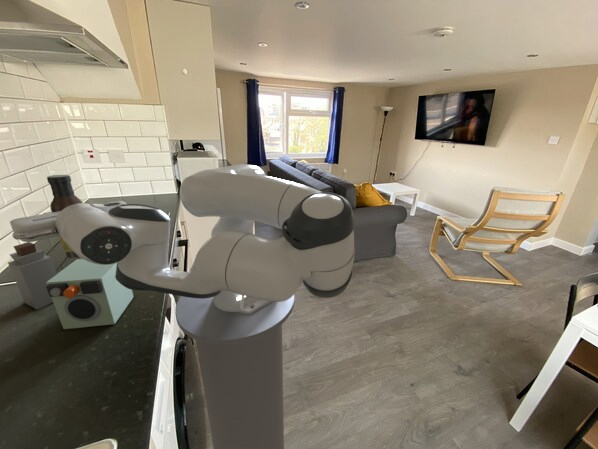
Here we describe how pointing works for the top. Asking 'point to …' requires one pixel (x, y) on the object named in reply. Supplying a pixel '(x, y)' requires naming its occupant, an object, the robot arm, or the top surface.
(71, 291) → the button
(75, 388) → the top surface
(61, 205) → the sauce bottle
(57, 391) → the top surface
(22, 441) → the top surface
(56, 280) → the washer
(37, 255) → the perfume bottle
